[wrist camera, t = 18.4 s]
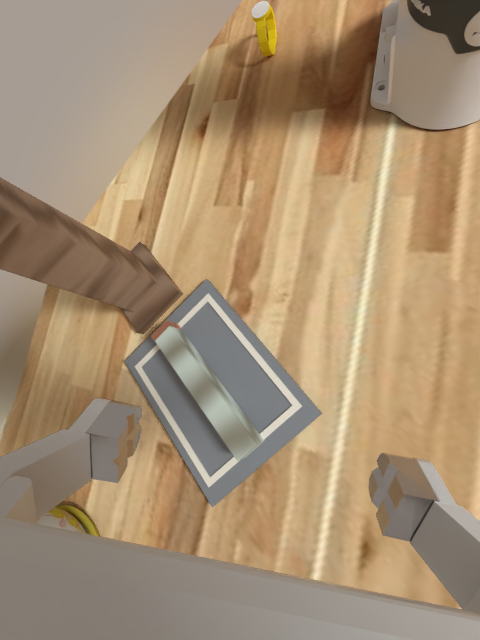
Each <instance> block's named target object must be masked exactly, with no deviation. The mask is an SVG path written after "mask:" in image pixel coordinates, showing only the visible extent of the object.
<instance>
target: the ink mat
mask: <svg viewBox="0 0 480 640" xmlns="http://www.w3.org/2000/svg"><path fill="white" fill-rule="evenodd" d="M166 320H167V321H170V322H173V323H176V324H179V326H180V327H181V328H182V331H183V332H184V334H185V335H186V336H187V338H188V339H189V340H190V342H191V343H192V344H193V346H194V347H195V348H196V350H197V351H198V352H199V354H200V355H201V356H202V358H203V359H204V360H205V362H206V363H207V364H208V366H209V367H210V368H211V370H212V371H213V372H214V374H215V375H216V376H217V378H218V379H219V380H220V382H221V383H222V384H223V386H224V387H225V388H226V390H227V391H228V392H229V394H230V395H231V397H232V398H233V399H234V401H235V402H236V403H237V405H238V406H239V407H240V409H241V410H242V411H243V413H244V414H245V415H246V417H247V418H248V419H249V421H250V422H251V423H252V425H253V426H254V427H255V429H256V430H257V431H258V433H259V434H260V435H261V437H262V438H263V439H264V442H263V443H261V444H260V445H259V446H258V447H257V448H256V449H255V450H254V451H252V452H251V453H250V454H249V455H248V456H247V457H245V458H243V459H241V460H240V461H237V460H236V458H235V457H234V456H233V454H232V453H231V451H230V450H229V448H228V447H227V445H226V444H225V442H224V441H223V440H222V438H221V437H220V435H219V434H218V432H217V431H216V429H215V428H214V426H213V425H212V424H211V422H210V421H209V419H208V418H207V416H206V415H205V413H204V412H203V410H202V409H201V408H200V406H199V405H198V403H197V402H196V400H195V399H194V397H193V396H192V394H191V393H190V391H189V390H188V389H187V387H186V386H185V384H184V383H183V381H182V380H181V378H180V377H179V375H178V374H177V373H176V371H175V370H174V368H173V367H172V365H171V364H170V362H169V361H168V359H167V358H166V357H165V355H164V354H163V352H162V351H161V349H160V348H159V346H158V345H157V343H156V342H154V340H153V339H152V337H151V336H152V335H153V333H154V332H155V331H156V330H157V329H158V328H159V327H160V326H161V325H162V324H163V323H164V322H165V321H166ZM166 320H165V321H164V322H163V323H162V324H161V325H160V326H159V327H158V328H157V329H156V330H155V331H154V332H153V333H152V334H151V335H150V336H149V337H148V338H147V339H146V340H145V342H144V343H143V344H142V345H141V346H140V347H139V348H138V349H137V350H136V351H135V352H134V353H133V354H132V355H131V356H130V357H129V358H128V359H127V360H126V361H125V363H126V365H127V366H128V368H129V370H130V371H131V373H132V375H133V376H134V378H135V380H136V381H137V383H138V385H139V386H140V388H141V390H142V391H143V393H144V395H145V396H146V398H147V400H148V401H149V403H150V405H151V406H152V408H153V410H154V411H155V413H156V415H157V416H158V418H159V420H160V421H161V423H162V425H163V426H164V428H165V430H166V431H167V433H168V435H169V436H170V438H171V440H172V441H173V443H174V445H175V446H176V448H177V450H178V451H179V453H180V455H181V456H182V458H183V460H184V461H185V463H186V465H187V466H188V468H189V470H190V471H191V473H192V475H193V476H194V478H195V480H196V481H197V483H198V484H199V486H200V488H201V489H202V491H203V493H204V494H205V496H206V498H207V499H208V501H209V503H210V504H211V506H212V507H213V506H214V505H216V504H217V503H218V502H219V501H220V500H221V499H223V498H224V497H225V496H226V495H227V494H228V493H230V492H231V491H232V490H233V489H234V488H236V487H237V486H238V485H239V484H240V483H241V482H243V481H244V480H245V479H246V478H247V477H248V476H250V475H251V474H252V473H253V472H254V471H255V470H257V469H258V468H259V467H260V466H261V465H262V464H264V463H265V462H266V461H267V460H268V459H269V458H271V457H272V456H273V455H274V454H275V453H276V452H278V451H279V450H280V449H281V448H282V447H283V446H285V445H286V444H287V443H288V442H289V441H290V440H292V439H293V438H294V437H295V436H296V435H297V434H299V433H300V432H301V431H302V430H303V429H304V428H306V427H307V426H308V425H309V424H310V423H311V422H313V421H314V420H315V419H316V418H317V417H319V416H320V415H321V414H322V413H321V412H320V410H319V409H318V408H317V407H316V406H315V405H314V403H313V402H312V401H311V400H310V399H309V397H308V396H307V395H306V394H305V393H304V392H303V390H302V389H301V388H300V387H299V386H298V385H297V383H296V382H295V381H294V380H293V379H292V377H291V376H290V375H289V374H288V373H287V372H286V370H285V369H284V368H283V367H282V366H281V365H280V363H279V362H278V361H277V360H276V359H275V357H274V356H273V355H272V354H271V353H270V352H269V350H268V349H267V348H266V347H265V346H264V345H263V343H262V342H261V341H260V340H259V339H258V337H257V336H256V335H255V334H254V333H253V332H252V330H251V329H250V328H249V327H248V326H247V325H246V323H245V322H244V321H243V320H242V319H241V317H240V316H239V315H238V314H237V313H236V312H235V310H234V309H233V308H232V307H231V306H230V305H229V303H228V302H227V301H226V300H225V299H224V297H223V296H222V295H221V294H220V293H219V292H218V290H217V289H216V288H215V287H214V286H213V285H212V283H211V282H210V281H209V280H207V279H206V280H205V281H204V282H203V283H202V284H201V285H200V286H199V287H198V288H197V289H196V290H195V291H194V292H193V293H192V294H191V295H190V296H189V297H188V298H187V299H186V300H185V301H184V302H183V303H182V304H181V305H180V306H179V307H178V308H177V309H176V310H175V311H174V312H173V313H172V314H171V315H170V316H169V317H168V318H167V319H166Z"/></svg>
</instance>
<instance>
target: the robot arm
mask: <svg viewBox="0 0 480 640" xmlns="http://www.w3.org/2000/svg"><path fill="white" fill-rule="evenodd" d="M381 89H383V90H381ZM370 104H371V106H372V107H374V108H376V109H380V110H384V111H390V112H392V113H394V114H395V115H397V116H398V117H399V118H401V119H402V120H403V121H405V122H407V123H409V124H411V125H413V126H416V127H420V128H425V129H435V130H436V129H451V128H456V127H461V126H464V125H468V124H471V123H473V122H476V121H478V120H480V0H394V1H393V2H392V3H391V4H390V5H388V6H387V7H386V8H385V9H383V14H382V22H381V29H380V36H379V43H378V50H377V57H376V63H375V70H374V77H373V84H372V91H371V98H370ZM140 418H141V407H140V406H137V405H132V404H127V403H123V402H118V401H114V400H112V401H111V400H107V399H103V398H95V399H94V400H93V401H92V402H91V403H90V404H89V405H88V407H87V408H86V409H85V410H84V411H83V413H82V414H81V415H80V416H79V417H78V418H77V420H76V421H75V422H74V423H73V424H72V426H71V427H70V428H69V429H68V430H66V429H62V430H60V431H58V432H56V433H53V434H51V435H49V436H47V437H44V438H42V439H40V440H38V441H35V442H33V443H31V444H29V445H26V446H24V447H22V448H20V449H18V450H15V451H13V452H11V453H9V454H6V455H4V456H2V457H0V640H480V521H479V520H478V519H476V518H475V517H474V516H473V515H472V514H470V513H469V512H468V511H467V510H466V509H464V508H463V507H462V506H458V505H456V503H455V501H454V499H453V498H452V496H451V494H450V493H449V491H448V489H447V488H446V486H445V484H444V482H443V481H442V479H441V477H440V476H439V474H438V472H437V470H436V469H435V467H434V465H433V464H432V463H431V462H430V461H428V460H422V459H416V458H409V457H404V456H398V455H393V454H387V453H382V454H380V455H379V457H378V459H377V463H378V466H379V467H378V468H376V469H375V470H373V471H372V473H371V476H370V478H369V494H370V497H371V501H372V502H373V503H374V505H375V506H376V507H377V508H378V511H377V513H376V517H377V520H378V523H379V526H380V529H381V532H382V535H383V536H388V537H392V538H396V539H401V540H405V541H410V544H411V545H412V546H413V547H414V549H415V550H416V551H417V552H418V554H419V555H420V556H421V558H422V559H423V560H424V561H425V563H426V564H427V565H428V566H429V568H430V569H431V570H432V571H433V573H434V574H435V575H436V577H437V578H438V579H439V580H440V582H441V583H442V584H443V585H444V587H445V588H446V589H447V590H448V592H449V593H450V594H451V595H452V597H453V598H454V599H455V601H456V602H457V603H458V604H459V606H460V607H461V608H462V609H463V610H461V609H456V608H452V607H447V606H442V605H437V604H432V603H427V602H422V601H417V600H412V599H407V598H402V597H397V596H392V595H387V594H382V593H377V592H372V591H367V590H362V589H357V588H352V587H347V586H342V585H337V584H333V583H328V582H323V581H318V580H313V579H308V578H303V577H298V576H293V575H288V574H283V573H278V572H273V571H268V570H263V569H258V568H253V567H248V566H243V565H238V564H234V563H229V562H224V561H219V560H214V559H209V558H204V557H199V556H194V555H189V554H184V553H179V552H174V551H169V550H164V549H159V548H154V547H149V546H145V545H140V544H135V543H130V542H125V541H120V540H115V539H110V538H105V537H100V536H95V535H90V534H85V533H80V532H75V531H70V530H65V529H60V528H55V527H50V526H45V525H41V524H38V523H37V520H38V519H39V518H40V517H42V516H43V515H44V514H46V513H47V512H49V511H50V510H51V509H53V508H54V507H55V506H57V505H58V504H59V503H61V502H62V501H64V500H65V499H66V498H68V497H69V496H70V495H72V494H73V493H74V492H76V491H77V490H79V489H80V488H81V487H83V486H84V485H85V484H87V483H88V482H90V481H91V479H97V480H103V481H109V482H115V483H118V482H119V480H120V479H121V477H122V475H123V473H124V471H125V469H126V467H127V458H129V457H130V456H132V455H133V454H134V452H135V450H136V448H137V445H138V442H139V438H140V433H141V426H140V424H139V423H138V421H139V419H140Z"/></svg>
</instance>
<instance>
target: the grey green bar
mask: <svg viewBox="0 0 480 640" xmlns="http://www.w3.org/2000/svg"><path fill="white" fill-rule="evenodd" d="M151 337H152V339H153V340H154V342H156V343H157V345H158V346H159V348H160V349H161V351H162V352H163V354H164V355H165V357H166V358H167V359H168V361H169V362H170V364H171V365H172V367H173V368H174V370H175V371H176V373H177V374H178V375H179V377H180V378H181V380H182V381H183V383H184V384H185V386H186V387H187V389H188V390H189V391H190V393H191V394H192V396H193V397H194V399H195V400H196V402H197V403H198V405H199V406H200V408H201V409H202V410H203V412H204V413H205V415H206V416H207V418H208V419H209V421H210V422H211V424H212V425H213V426H214V428H215V429H216V431H217V432H218V434H219V435H220V437H221V438H222V440H223V441H224V442H225V444H226V445H227V447H228V448H229V450H230V451H231V453H232V454H233V456H234V457H235V458H236V460H237V461H240V460H241V459H243V458H245V457H247V456H248V455H249V454H250V453H251V452H252V451H254V450H255V449H256V448H257V447H258V446H259V445H260V444H261V443H263V442H264V439H263V438H262V437H261V435H260V434H259V433H258V431H257V430H256V429H255V427H254V426H253V425H252V423H251V422H250V421H249V419H248V418H247V417H246V415H245V414H244V413H243V411H242V410H241V409H240V407H239V406H238V405H237V403H236V402H235V401H234V399H233V398H232V397H231V395H230V394H229V392H228V391H227V390H226V388H225V387H224V386H223V384H222V383H221V382H220V380H219V379H218V378H217V376H216V375H215V374H214V372H213V371H212V370H211V368H210V367H209V366H208V364H207V363H206V362H205V360H204V359H203V358H202V356H201V355H200V354H199V352H198V351H197V350H196V348H195V347H194V346H193V344H192V343H191V342H190V340H189V339H188V338H187V336H186V335H185V334H184V332H183V331H182V328H181V327H180V326H179V324H176V323H173V322H170V321H167V320H166V321H165V322H164V323H163V324H162V325H161V326H160V327H159V328H158V329H157V330H156V331H155V332H154V333H153V335H152V336H151Z"/></svg>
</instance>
